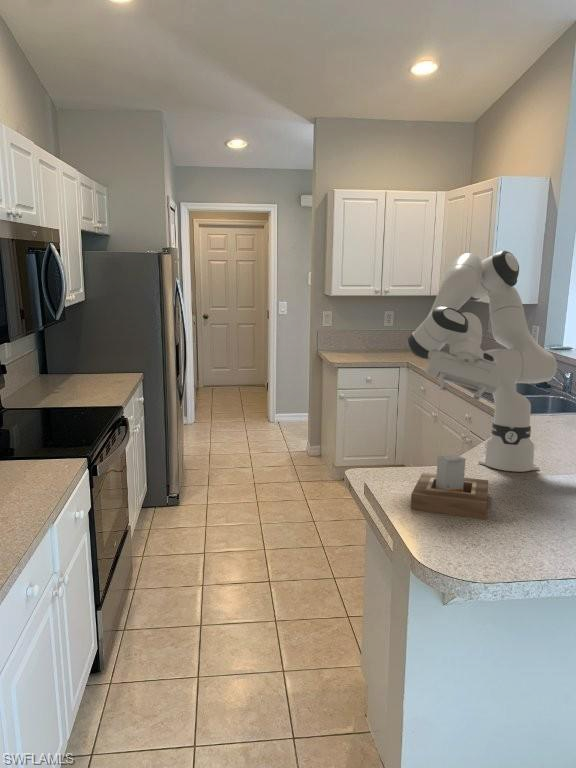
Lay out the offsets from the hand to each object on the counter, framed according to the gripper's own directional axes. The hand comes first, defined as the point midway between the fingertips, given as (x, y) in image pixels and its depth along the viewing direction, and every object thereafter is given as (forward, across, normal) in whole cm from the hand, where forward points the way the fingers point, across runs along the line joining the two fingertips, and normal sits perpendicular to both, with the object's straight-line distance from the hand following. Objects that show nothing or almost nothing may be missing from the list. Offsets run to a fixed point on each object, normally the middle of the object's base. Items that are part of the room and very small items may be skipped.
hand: (460, 393), depth 159 cm
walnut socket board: (+26, +4, +13) cm, 29 cm away
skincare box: (+26, +4, +14) cm, 29 cm away
